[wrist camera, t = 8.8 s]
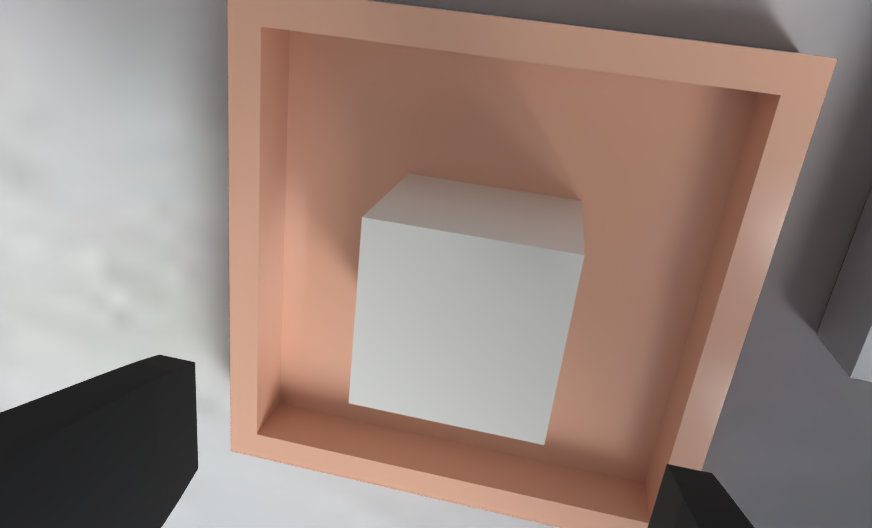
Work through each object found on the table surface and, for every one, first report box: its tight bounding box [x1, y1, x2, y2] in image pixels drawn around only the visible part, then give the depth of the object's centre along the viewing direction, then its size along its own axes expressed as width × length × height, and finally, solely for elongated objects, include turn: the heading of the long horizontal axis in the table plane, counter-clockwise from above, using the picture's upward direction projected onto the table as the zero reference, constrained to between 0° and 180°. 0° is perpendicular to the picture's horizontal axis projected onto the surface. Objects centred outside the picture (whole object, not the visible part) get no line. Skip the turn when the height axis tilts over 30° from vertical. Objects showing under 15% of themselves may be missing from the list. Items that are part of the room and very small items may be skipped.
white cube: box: [349, 173, 585, 445], centre depth 15 cm, size 4×4×4 cm
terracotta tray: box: [227, 0, 838, 528], centre depth 17 cm, size 13×13×2 cm
